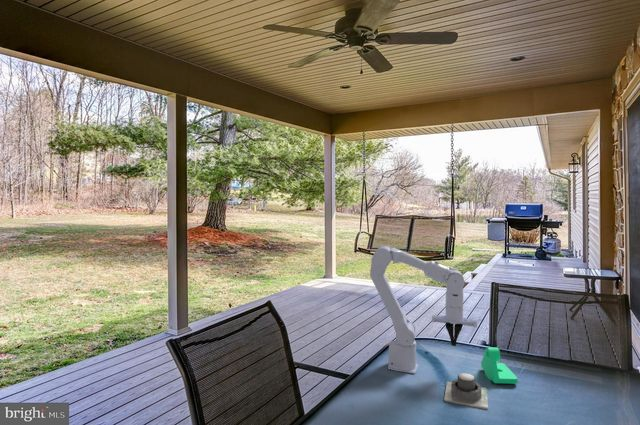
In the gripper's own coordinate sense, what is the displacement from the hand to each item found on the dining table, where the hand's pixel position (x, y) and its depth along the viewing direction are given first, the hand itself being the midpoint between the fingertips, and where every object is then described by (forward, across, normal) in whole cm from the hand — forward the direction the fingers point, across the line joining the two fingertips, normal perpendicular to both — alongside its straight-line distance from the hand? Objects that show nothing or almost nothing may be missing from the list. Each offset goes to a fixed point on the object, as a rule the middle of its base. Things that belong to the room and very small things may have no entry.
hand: (453, 344), depth 133 cm
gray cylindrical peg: (+9, +4, -14) cm, 18 cm away
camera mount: (+10, +14, +2) cm, 18 cm away
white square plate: (+10, +4, -14) cm, 18 cm away
